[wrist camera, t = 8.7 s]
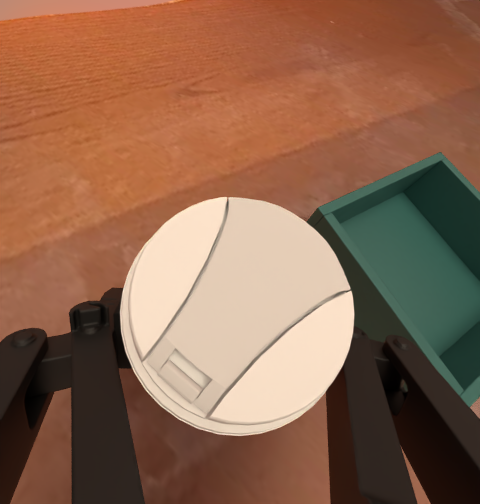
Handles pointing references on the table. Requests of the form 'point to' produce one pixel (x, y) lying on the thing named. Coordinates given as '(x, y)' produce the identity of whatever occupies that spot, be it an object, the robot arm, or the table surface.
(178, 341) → the paper cup
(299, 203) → the table surface
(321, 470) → the table surface
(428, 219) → the bin
